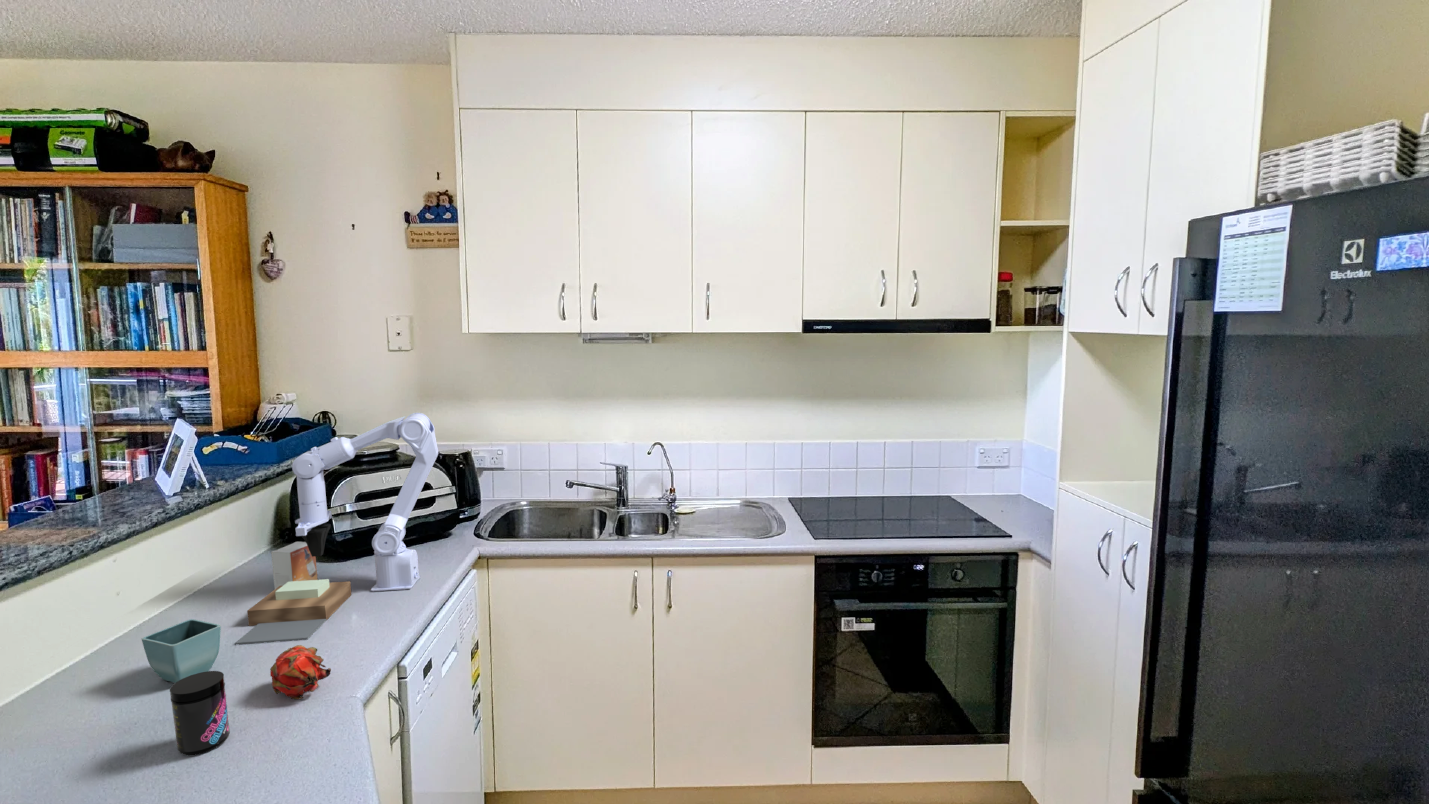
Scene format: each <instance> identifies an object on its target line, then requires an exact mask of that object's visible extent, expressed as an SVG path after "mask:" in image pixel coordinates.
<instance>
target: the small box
mask: <svg viewBox="0 0 1429 804" xmlns="http://www.w3.org/2000/svg"><path fill="white" fill-rule="evenodd" d="M270 553H271V556H270V557H271V564H272V565H271V566H272V574H273V585H274V586H273V587H274V590H275V589H276V588H277V587H279V586H283V585H285V584H286V583H287V582H291V581H307V580H319V579H318V570H317V568H318V567H317V558H316V557H317V556H314V557H312V555H311V553H310V551H309V548H308V546H307V544H306V542H305V541H295V542H293V543H291V544H287V545H285V546H284V547H280V548H278V549H275V550H272V551H270Z"/></svg>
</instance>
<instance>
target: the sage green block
mask: <svg viewBox="0 0 1429 804" xmlns="http://www.w3.org/2000/svg"><path fill="white" fill-rule="evenodd" d="M329 583H330V579H329V578H326V579H325V578H324V579H323V578H322V579H318V580H307V581H291V582H287V583H286V584H285V585H283V586H282V587H281V588H280V589H278V590H277V591H276V592H275V595H276V600H288V599H303V598H318V597H319V596H320V595H322V594H323V593H324V592H325V591H326V590H327V589H328V588H329V587H330V586H329Z"/></svg>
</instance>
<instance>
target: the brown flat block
mask: <svg viewBox="0 0 1429 804" xmlns="http://www.w3.org/2000/svg"><path fill="white" fill-rule="evenodd" d="M351 585H352V584H351V581H348V580H347V581H332V582H329V586H330V587H329V588H328V589H327V590H326V591H325V592H324V593H323V594H322V595H320V596H319V597H318V598H303V599H288V600H276V595H275V592H276V591H277V590H278V589H280V588H281V587H282V586H279V587H277V588H276V589H275V588H274V590H272V591H271V592H270V593H268V594H267V595H265V596H264V597H263V598H262V599H261V600H259V601H258V602H257V603H255V604H254V605H253V606H251V607H250V608H249V609H248V610H247V611H246V612H247V622H248V626H249V627H255V626H256V625H257V624H259V623H273V622H287V621H302V620H316V619H326V621H328V620H329V618H331V616H332V615H334V613H336V611H338V610H339V608H340V607H341V606H342V605H343V604H344V603H345V602H347V601H348V599H349V598H351V596H352V587H351Z"/></svg>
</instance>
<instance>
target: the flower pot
mask: <svg viewBox="0 0 1429 804" xmlns="http://www.w3.org/2000/svg"><path fill="white" fill-rule="evenodd" d="M221 629H222V624H219V623H214V622H210V621H209V622H208V621H203V620H200V619H193V618H190V619H187V620H184V621H181V622H179V623H177V624H175V625H172V626H169V627H167V628H165V629H162V630H159V631H157V632H156V631H155V632H154V633H151V634H149V635H146V636H144V637H142V638H141V642H142V645H143V648H144V649H143V650H144V652H145V655H146V659H147V662H148V664H149V666H150V668H151V669H152V670H153V671H154V672H155V674H156V675H157V676H158V677H160V678H161V679H162V680H164V681H167V682H170V683H171V682H172V683H173V684H174V683H176V682H177V681H179V680H181V679H183V678H185V677H188V676H190V675H193V674H197V673H201V672H207V671H211V668H212V667H213V666H214V664H215V662H216V660H217V657H218V655H219V651H220V645H221V644H220V643H221V631H222V630H221Z"/></svg>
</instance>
